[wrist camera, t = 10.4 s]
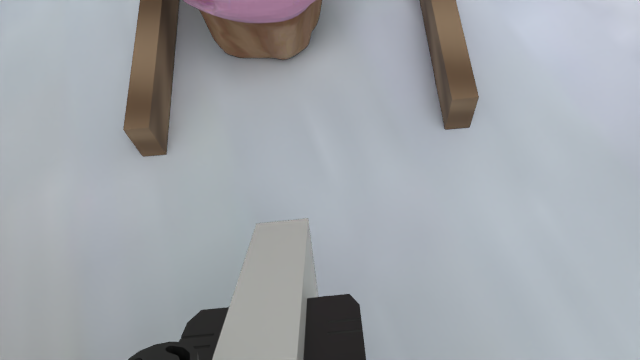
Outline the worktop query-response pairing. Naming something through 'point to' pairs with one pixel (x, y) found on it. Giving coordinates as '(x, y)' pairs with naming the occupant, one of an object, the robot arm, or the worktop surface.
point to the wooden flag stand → (158, 62)
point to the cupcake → (260, 25)
